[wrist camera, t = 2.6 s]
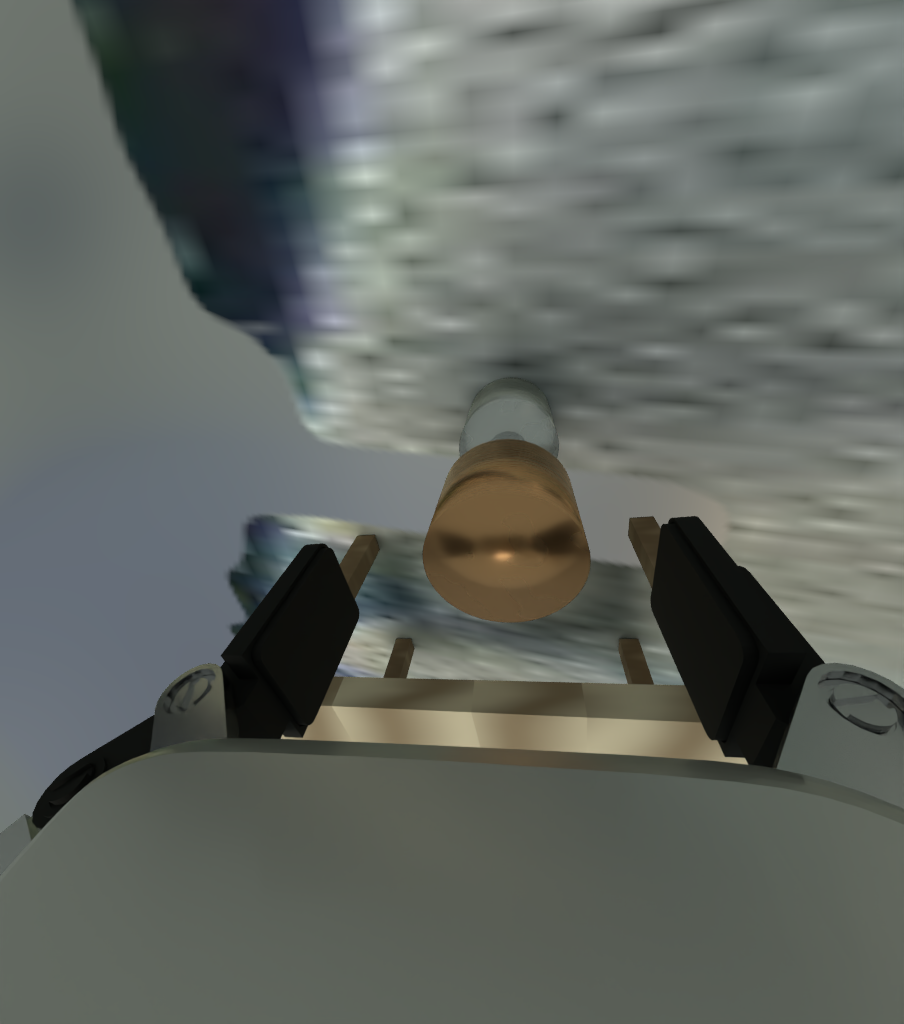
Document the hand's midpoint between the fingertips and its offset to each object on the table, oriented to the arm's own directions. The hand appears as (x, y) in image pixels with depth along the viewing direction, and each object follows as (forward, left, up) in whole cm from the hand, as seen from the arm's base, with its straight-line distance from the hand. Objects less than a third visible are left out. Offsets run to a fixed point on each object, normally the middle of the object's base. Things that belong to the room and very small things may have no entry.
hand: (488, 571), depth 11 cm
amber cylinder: (0, 0, -15) cm, 15 cm away
